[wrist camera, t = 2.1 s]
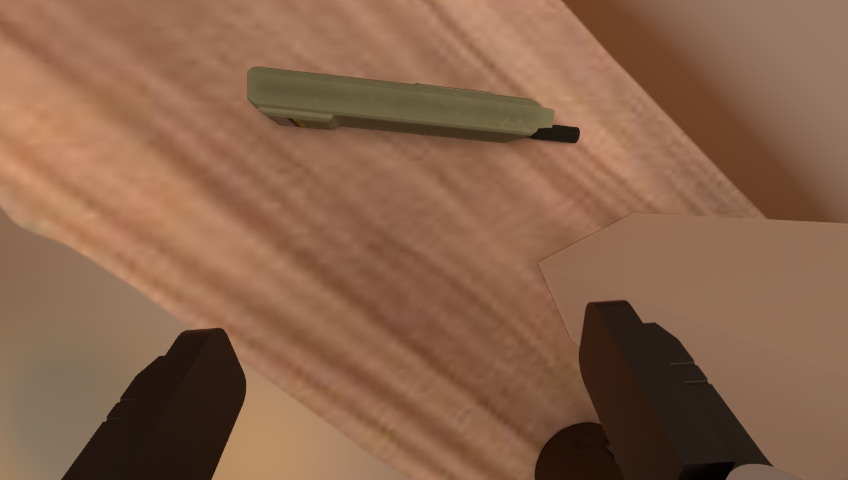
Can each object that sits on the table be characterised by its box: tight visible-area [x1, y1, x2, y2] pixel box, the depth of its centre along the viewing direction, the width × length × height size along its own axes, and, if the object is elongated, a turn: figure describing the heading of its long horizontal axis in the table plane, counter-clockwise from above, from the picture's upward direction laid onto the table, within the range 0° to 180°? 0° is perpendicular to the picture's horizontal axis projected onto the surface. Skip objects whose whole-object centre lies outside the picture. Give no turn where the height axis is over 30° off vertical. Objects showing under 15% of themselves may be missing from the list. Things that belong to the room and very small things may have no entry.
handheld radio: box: [247, 67, 580, 143], centre depth 31 cm, size 7×3×25 cm
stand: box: [537, 213, 848, 480], centre depth 22 cm, size 8×10×32 cm
